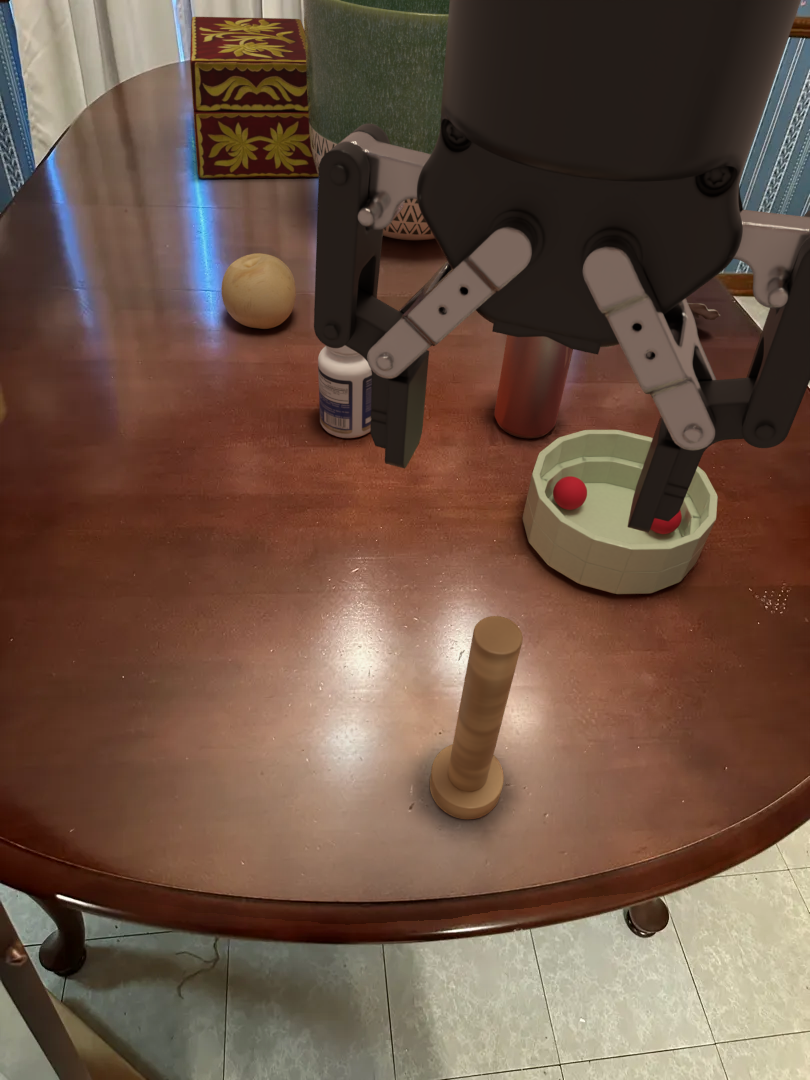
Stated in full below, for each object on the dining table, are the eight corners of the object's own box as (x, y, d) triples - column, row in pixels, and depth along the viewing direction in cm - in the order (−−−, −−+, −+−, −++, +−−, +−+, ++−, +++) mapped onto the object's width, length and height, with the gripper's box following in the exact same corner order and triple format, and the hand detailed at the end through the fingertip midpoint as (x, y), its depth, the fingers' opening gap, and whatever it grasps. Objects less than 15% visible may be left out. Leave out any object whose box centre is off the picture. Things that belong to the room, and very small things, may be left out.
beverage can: (506, 398, 79) (531, 253, 68) (562, 415, 77) (597, 270, 66) (484, 429, 75) (507, 281, 64) (543, 448, 73) (576, 299, 63)
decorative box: (325, 178, 117) (324, 64, 107) (198, 179, 114) (183, 62, 103) (308, 117, 136) (305, 16, 126) (198, 117, 133) (185, 13, 123)
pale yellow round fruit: (304, 334, 84) (265, 284, 78) (242, 351, 88) (200, 304, 81) (313, 280, 88) (276, 228, 82) (253, 298, 91) (213, 249, 85)
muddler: (514, 783, 49) (561, 632, 38) (471, 834, 46) (509, 688, 36) (458, 741, 51) (488, 586, 40) (414, 788, 48) (434, 635, 38)
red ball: (589, 505, 67) (596, 480, 65) (571, 521, 65) (578, 496, 63) (561, 490, 68) (568, 465, 66) (543, 505, 67) (549, 480, 65)
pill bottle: (365, 401, 77) (367, 310, 70) (385, 433, 73) (389, 340, 67) (312, 411, 75) (308, 319, 68) (330, 444, 72) (328, 351, 65)
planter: (314, 184, 115) (308, -42, 96) (494, 191, 117) (523, -30, 98) (305, 267, 96) (295, 6, 77) (519, 274, 98) (561, 21, 79)
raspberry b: (681, 529, 65) (692, 504, 63) (666, 546, 64) (676, 521, 62) (651, 513, 67) (660, 488, 65) (635, 529, 65) (644, 504, 63)
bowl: (723, 533, 66) (747, 483, 62) (642, 629, 58) (663, 579, 54) (580, 458, 72) (593, 409, 69) (488, 536, 64) (498, 485, 61)
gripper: (243, -138, 15) (287, 498, 26) (1074, -49, 12) (721, 618, 24) (379, -156, 20) (366, 383, 31) (984, -97, 17) (730, 470, 29)
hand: (519, 483), depth 28 cm, fingers open, 8 cm apart
